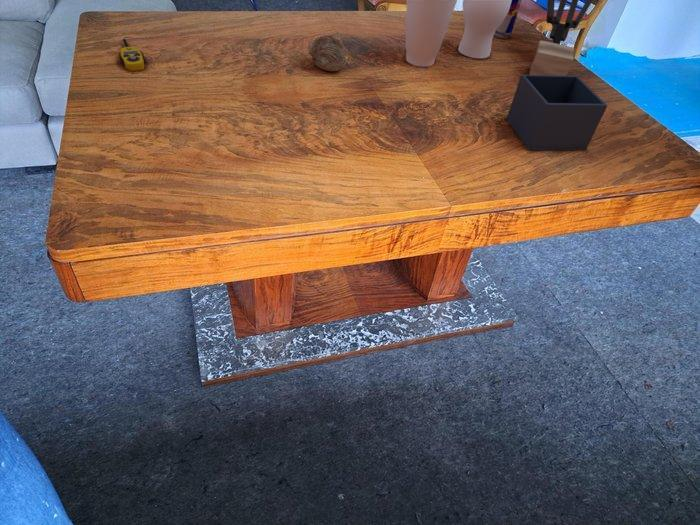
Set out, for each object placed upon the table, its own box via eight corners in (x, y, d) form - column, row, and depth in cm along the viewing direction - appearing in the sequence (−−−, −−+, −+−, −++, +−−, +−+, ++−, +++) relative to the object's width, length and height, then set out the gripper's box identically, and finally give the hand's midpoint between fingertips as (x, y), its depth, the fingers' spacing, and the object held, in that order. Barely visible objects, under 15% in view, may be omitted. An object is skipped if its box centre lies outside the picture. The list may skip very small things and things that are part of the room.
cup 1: (451, 70, 122) (468, -2, 111) (405, 72, 119) (418, -2, 108) (432, 49, 130) (446, -19, 119) (389, 51, 127) (399, -20, 115)
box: (586, 150, 100) (607, 105, 94) (528, 150, 98) (546, 104, 92) (559, 118, 109) (577, 75, 102) (506, 118, 107) (521, 74, 100)
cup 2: (465, 62, 126) (482, -7, 115) (444, 44, 133) (459, -23, 122) (504, 60, 129) (524, -8, 118) (481, 42, 136) (499, -24, 125)
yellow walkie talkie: (122, 63, 105) (111, 35, 114) (124, 72, 106) (113, 43, 115) (147, 61, 107) (134, 33, 116) (148, 70, 108) (135, 42, 117)
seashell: (315, 79, 113) (348, 74, 115) (314, 48, 108) (349, 43, 110) (303, 60, 119) (335, 55, 121) (302, 29, 114) (335, 25, 116)
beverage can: (495, 38, 139) (512, -22, 129) (489, 31, 143) (506, -28, 132) (512, 39, 140) (531, -20, 129) (506, 32, 144) (524, -27, 133)
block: (530, 68, 127) (540, 40, 122) (562, 75, 125) (574, 47, 121) (527, 81, 121) (537, 51, 116) (561, 88, 120) (573, 59, 115)
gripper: (604, -27, 126) (576, 64, 126) (551, -37, 128) (523, 52, 129) (615, -46, 119) (585, 50, 119) (558, -57, 121) (529, 38, 121)
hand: (553, 51), depth 124 cm, fingers closed
